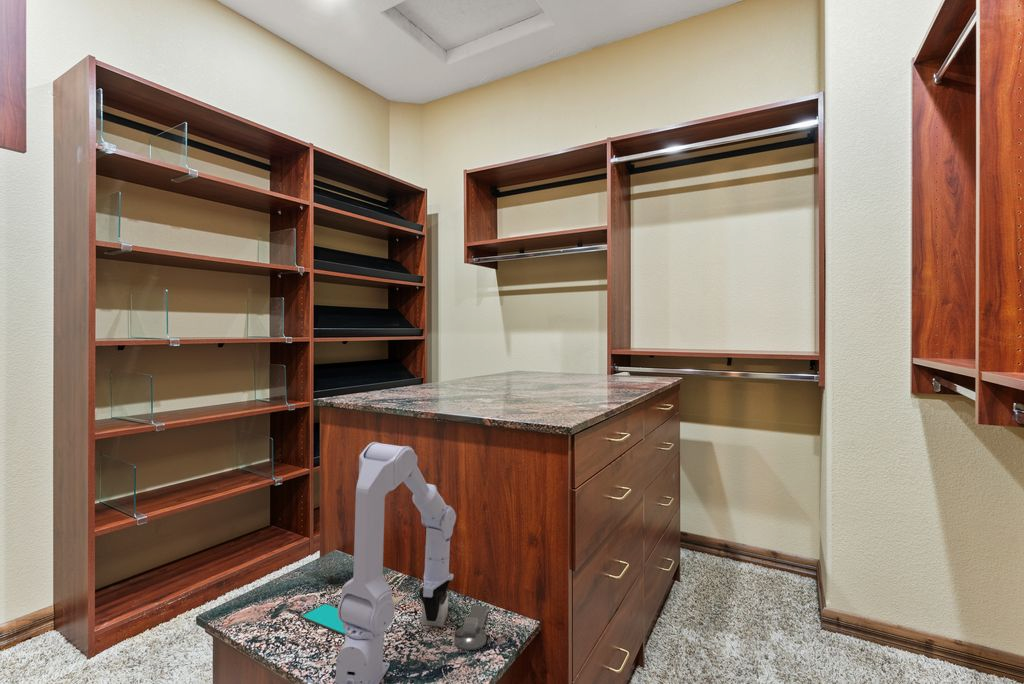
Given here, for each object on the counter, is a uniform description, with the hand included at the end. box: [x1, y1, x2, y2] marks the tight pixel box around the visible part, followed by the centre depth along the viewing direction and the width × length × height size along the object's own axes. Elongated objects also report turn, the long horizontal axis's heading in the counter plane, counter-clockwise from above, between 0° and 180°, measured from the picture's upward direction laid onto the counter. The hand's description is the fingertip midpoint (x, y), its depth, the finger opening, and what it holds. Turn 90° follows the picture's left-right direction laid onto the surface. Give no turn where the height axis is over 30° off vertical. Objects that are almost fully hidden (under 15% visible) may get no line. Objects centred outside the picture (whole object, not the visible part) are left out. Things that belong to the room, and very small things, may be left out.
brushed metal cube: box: [420, 593, 449, 628], centre depth 112 cm, size 5×5×5 cm
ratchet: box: [453, 605, 489, 651], centre depth 108 cm, size 16×7×4 cm, turn 174°
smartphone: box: [299, 602, 346, 637], centre depth 110 cm, size 7×1×15 cm
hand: (434, 614), depth 112 cm, fingers closed on brushed metal cube, 5 cm apart
